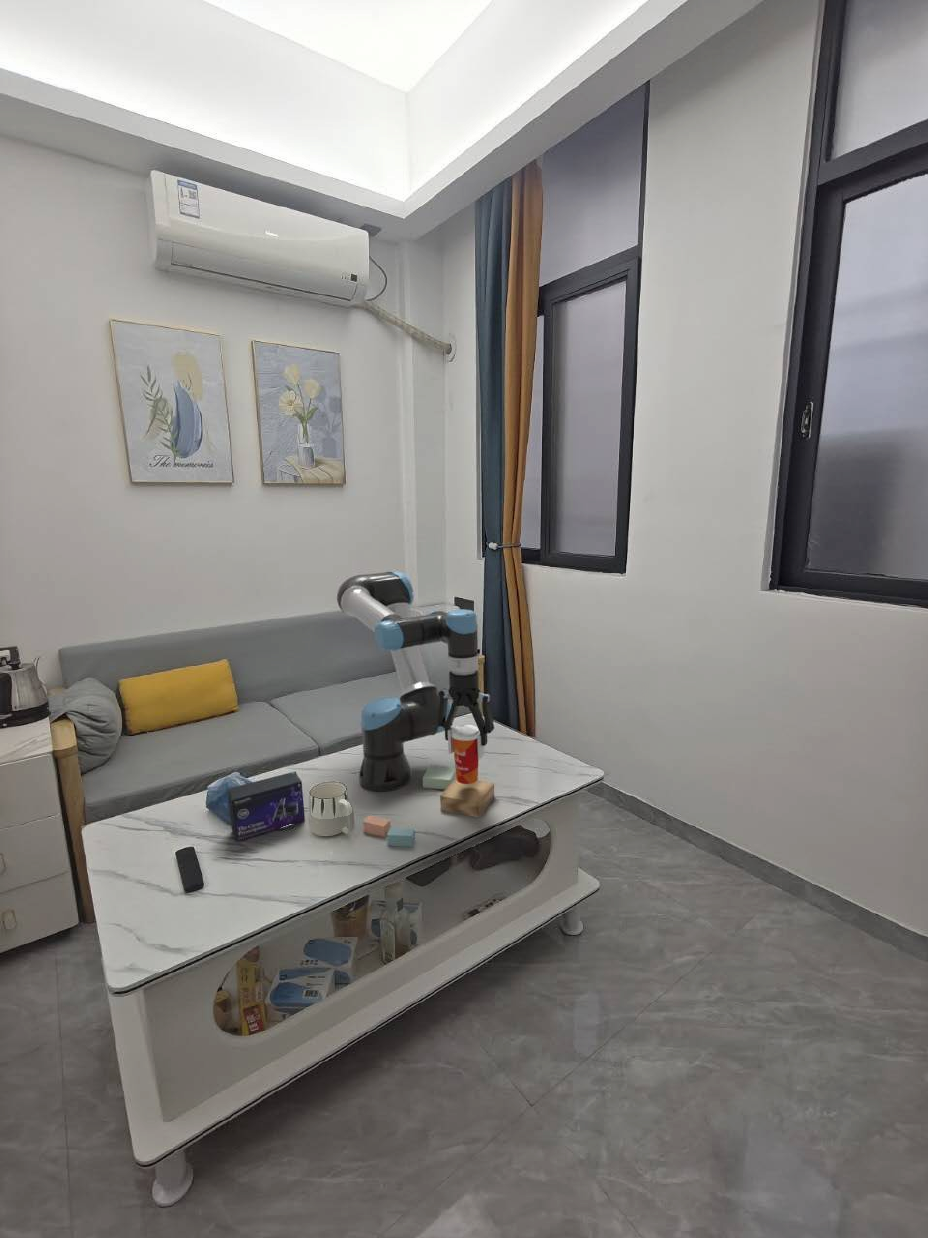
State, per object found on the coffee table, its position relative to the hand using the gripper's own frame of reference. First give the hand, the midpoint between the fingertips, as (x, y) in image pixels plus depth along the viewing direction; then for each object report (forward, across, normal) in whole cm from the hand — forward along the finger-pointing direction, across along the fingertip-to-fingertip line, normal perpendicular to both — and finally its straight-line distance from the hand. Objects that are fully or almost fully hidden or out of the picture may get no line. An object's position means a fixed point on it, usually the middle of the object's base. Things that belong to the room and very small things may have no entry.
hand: (466, 753), depth 152 cm
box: (+14, -43, -28) cm, 53 cm away
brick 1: (+14, -16, -20) cm, 29 cm away
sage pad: (+14, -12, +8) cm, 20 cm away
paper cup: (+7, 0, 0) cm, 7 cm away
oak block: (+14, 0, 0) cm, 14 cm away
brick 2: (+14, -8, -22) cm, 27 cm away
